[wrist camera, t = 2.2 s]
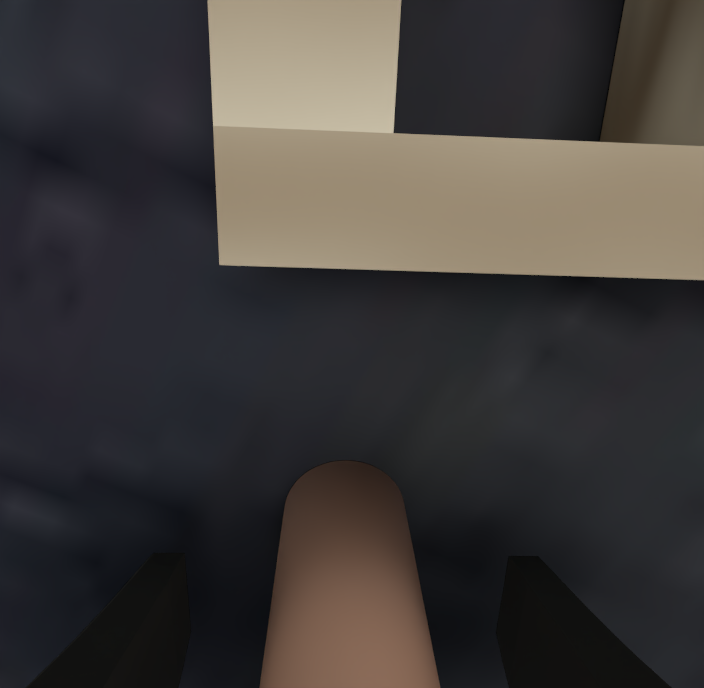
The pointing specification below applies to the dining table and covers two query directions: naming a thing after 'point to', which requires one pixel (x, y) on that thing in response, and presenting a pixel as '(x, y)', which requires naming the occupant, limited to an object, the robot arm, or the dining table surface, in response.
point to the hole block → (448, 155)
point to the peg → (347, 587)
